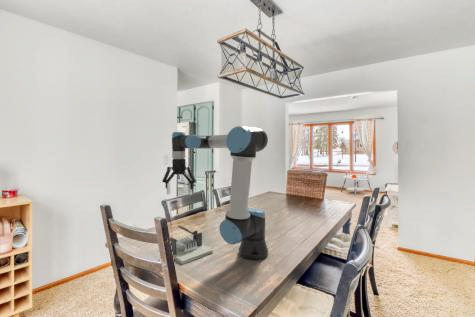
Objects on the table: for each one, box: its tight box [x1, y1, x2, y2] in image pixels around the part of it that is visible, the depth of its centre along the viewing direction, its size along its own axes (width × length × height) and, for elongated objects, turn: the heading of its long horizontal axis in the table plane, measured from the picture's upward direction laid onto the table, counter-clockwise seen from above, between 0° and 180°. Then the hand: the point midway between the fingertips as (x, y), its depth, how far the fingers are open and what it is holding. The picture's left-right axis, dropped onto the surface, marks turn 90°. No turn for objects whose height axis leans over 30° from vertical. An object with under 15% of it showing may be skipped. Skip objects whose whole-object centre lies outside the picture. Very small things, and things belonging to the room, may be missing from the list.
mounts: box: [169, 230, 203, 255], centre depth 126 cm, size 5×16×7 cm, turn 134°
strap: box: [177, 225, 198, 238], centre depth 127 cm, size 3×14×2 cm
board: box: [173, 237, 214, 265], centre depth 126 cm, size 22×18×2 cm
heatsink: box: [176, 236, 198, 253], centre depth 126 cm, size 9×8×4 cm
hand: (179, 194), depth 141 cm, fingers open, 13 cm apart
